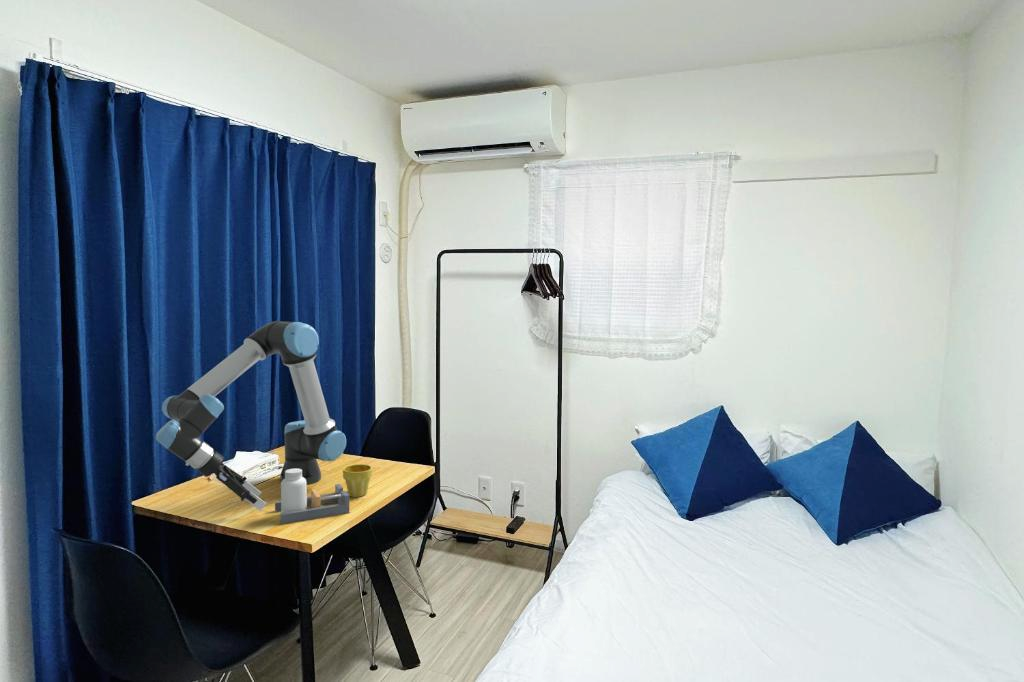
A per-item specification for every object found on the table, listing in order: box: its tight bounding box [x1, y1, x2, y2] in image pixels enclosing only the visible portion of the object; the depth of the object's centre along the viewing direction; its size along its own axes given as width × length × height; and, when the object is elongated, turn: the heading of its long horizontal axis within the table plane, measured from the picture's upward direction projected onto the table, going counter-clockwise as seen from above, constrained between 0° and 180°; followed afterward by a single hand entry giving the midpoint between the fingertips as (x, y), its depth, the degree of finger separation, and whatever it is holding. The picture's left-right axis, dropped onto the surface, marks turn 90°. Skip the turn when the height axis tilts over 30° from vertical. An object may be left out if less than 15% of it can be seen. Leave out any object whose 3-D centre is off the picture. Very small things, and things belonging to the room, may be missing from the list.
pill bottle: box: [280, 468, 308, 514], centre depth 194 cm, size 8×8×15 cm
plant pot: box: [342, 463, 373, 498], centre depth 215 cm, size 10×10×10 cm
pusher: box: [310, 488, 341, 508], centre depth 200 cm, size 10×9×6 cm
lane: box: [274, 483, 350, 525], centre depth 197 cm, size 22×13×6 cm, turn 120°
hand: (260, 501), depth 189 cm, fingers open, 11 cm apart
